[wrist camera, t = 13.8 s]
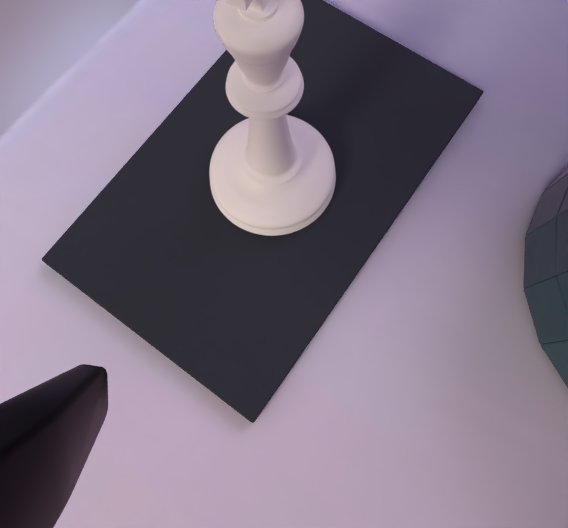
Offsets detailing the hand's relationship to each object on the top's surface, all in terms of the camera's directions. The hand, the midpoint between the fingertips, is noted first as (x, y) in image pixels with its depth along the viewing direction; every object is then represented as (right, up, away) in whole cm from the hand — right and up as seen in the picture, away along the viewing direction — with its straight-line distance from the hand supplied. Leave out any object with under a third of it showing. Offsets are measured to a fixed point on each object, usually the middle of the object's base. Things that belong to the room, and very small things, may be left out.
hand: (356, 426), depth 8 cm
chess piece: (-2, +6, +10) cm, 12 cm away
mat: (-2, +6, +10) cm, 12 cm away
